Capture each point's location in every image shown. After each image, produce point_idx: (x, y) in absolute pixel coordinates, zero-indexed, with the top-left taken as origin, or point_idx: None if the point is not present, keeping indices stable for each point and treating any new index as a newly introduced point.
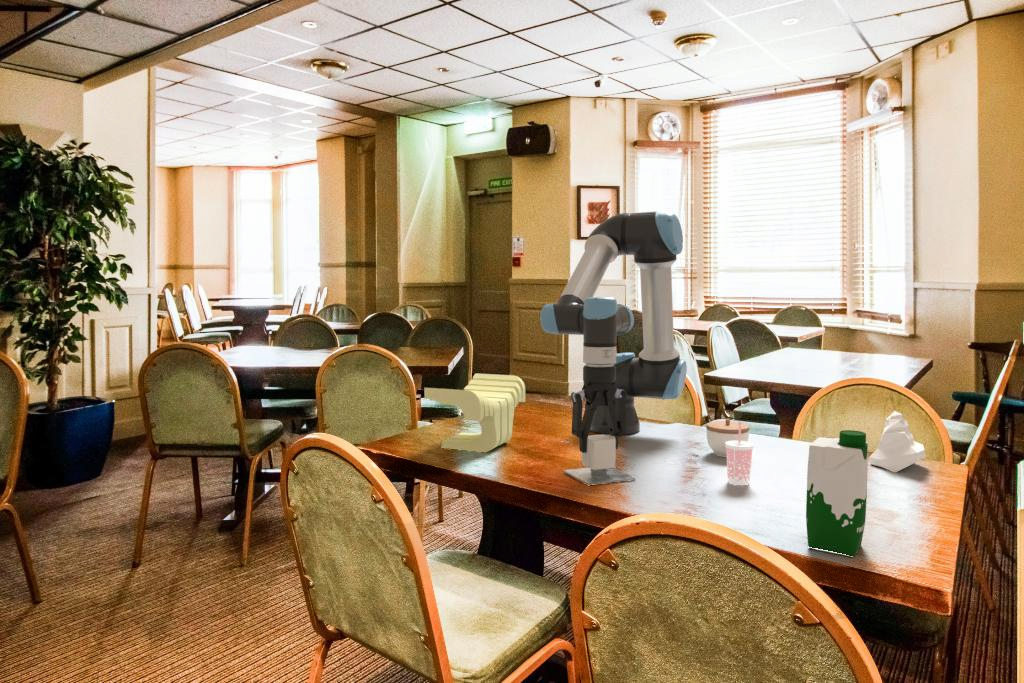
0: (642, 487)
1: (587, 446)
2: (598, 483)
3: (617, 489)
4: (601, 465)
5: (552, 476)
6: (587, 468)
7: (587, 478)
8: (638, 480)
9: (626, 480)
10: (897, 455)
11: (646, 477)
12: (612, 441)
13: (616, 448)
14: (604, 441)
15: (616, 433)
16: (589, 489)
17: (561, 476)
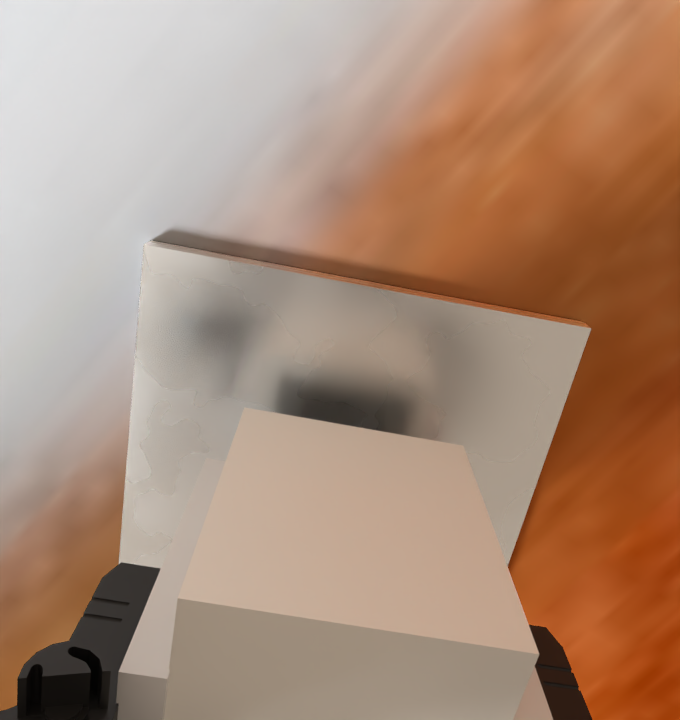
0: (232, 30)
1: None
2: (498, 309)
3: (460, 118)
4: (389, 449)
5: (588, 626)
6: None
7: (491, 436)
8: (124, 222)
9: (233, 257)
10: None
11: (7, 251)
12: (239, 583)
13: (126, 570)
14: (369, 612)
15: (76, 712)
16: (639, 254)
17: (542, 599)
